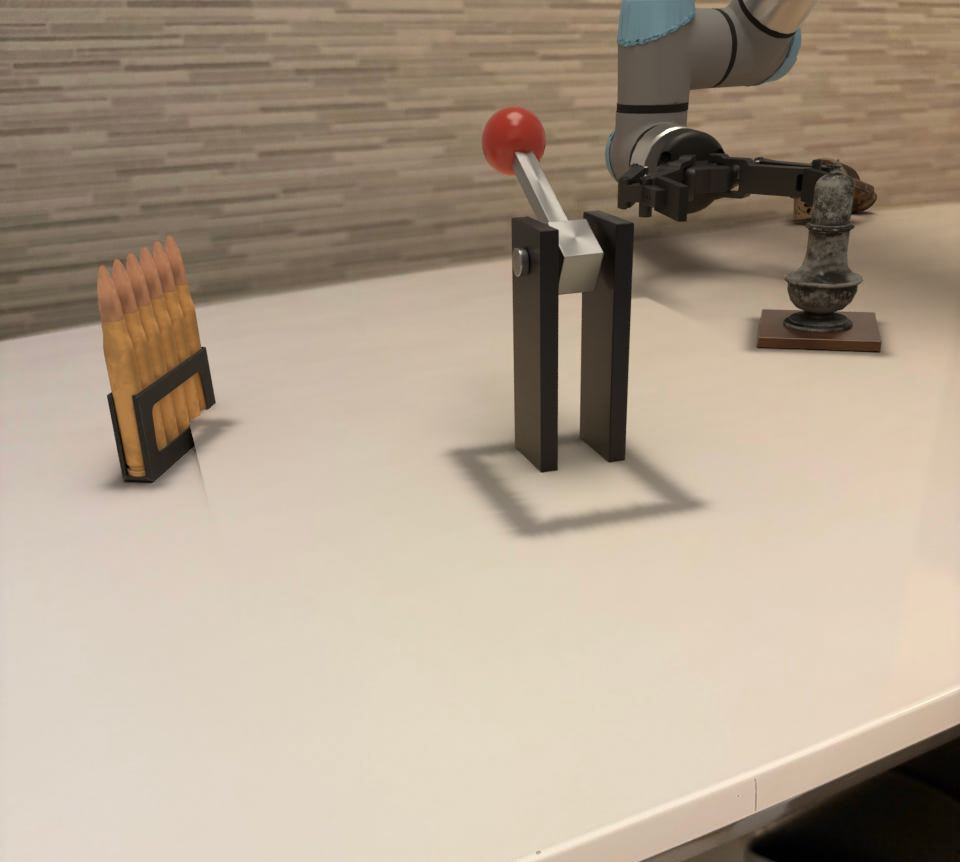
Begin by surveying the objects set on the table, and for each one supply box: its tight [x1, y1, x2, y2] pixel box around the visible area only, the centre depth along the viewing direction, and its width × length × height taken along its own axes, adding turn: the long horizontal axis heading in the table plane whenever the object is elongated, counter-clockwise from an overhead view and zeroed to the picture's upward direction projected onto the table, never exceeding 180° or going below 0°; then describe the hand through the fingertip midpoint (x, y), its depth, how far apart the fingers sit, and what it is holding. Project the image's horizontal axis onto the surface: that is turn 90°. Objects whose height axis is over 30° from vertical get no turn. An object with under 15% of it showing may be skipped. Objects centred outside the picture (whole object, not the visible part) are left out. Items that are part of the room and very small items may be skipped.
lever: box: [481, 105, 604, 296], centre depth 58 cm, size 13×4×4 cm, turn 18°
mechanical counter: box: [789, 157, 878, 222], centre depth 128 cm, size 7×13×10 cm
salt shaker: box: [783, 158, 864, 332], centre depth 82 cm, size 6×6×12 cm
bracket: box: [510, 209, 635, 474], centre depth 58 cm, size 12×9×14 cm
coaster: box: [757, 308, 883, 352], centre depth 86 cm, size 9×9×1 cm
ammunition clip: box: [96, 234, 216, 482], centre depth 64 cm, size 11×2×12 cm, turn 170°
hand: (762, 199), depth 90 cm, fingers open, 13 cm apart
